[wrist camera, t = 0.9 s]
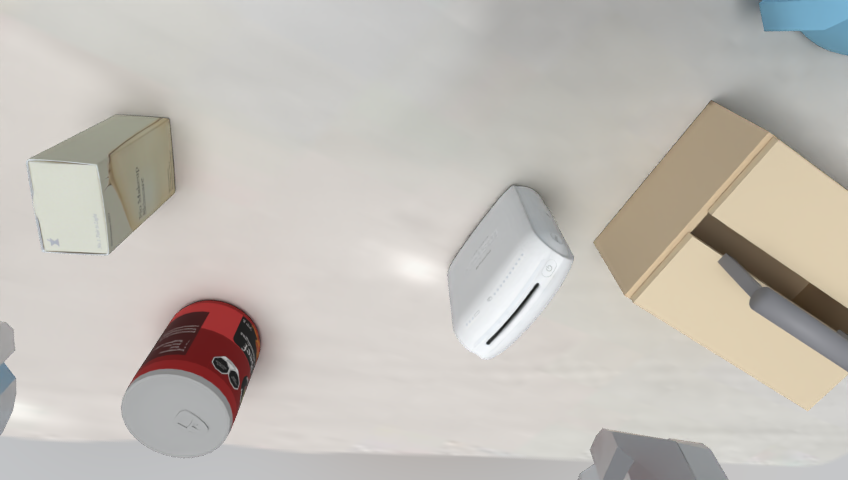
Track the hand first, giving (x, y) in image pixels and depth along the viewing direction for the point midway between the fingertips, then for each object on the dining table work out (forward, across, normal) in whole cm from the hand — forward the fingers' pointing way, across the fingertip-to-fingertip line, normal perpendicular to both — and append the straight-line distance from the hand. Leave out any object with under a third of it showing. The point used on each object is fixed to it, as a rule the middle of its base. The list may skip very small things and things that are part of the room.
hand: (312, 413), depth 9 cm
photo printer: (+42, -11, +14) cm, 46 cm away
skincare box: (+42, +17, +13) cm, 48 cm away
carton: (+42, -30, +9) cm, 53 cm away
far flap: (+33, -29, +13) cm, 46 cm away
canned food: (+42, +10, +28) cm, 52 cm away
